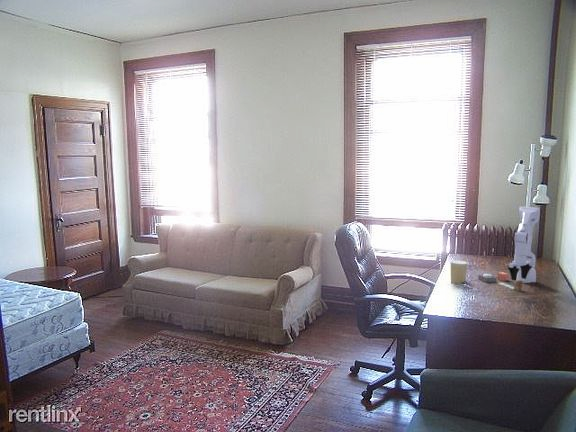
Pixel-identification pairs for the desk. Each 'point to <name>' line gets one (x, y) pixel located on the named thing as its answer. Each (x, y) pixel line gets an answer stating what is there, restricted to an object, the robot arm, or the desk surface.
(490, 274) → the dome
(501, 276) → the die
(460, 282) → the coffee cup
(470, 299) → the desk surface
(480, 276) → the board
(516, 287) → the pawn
